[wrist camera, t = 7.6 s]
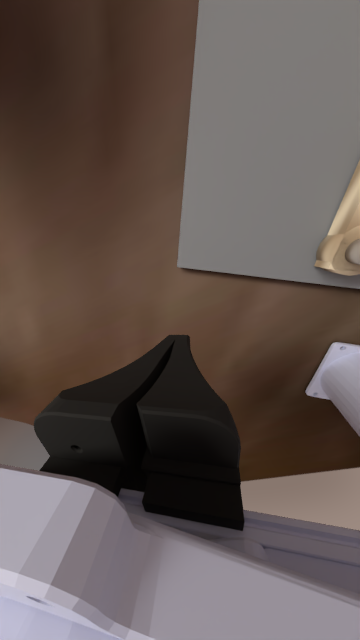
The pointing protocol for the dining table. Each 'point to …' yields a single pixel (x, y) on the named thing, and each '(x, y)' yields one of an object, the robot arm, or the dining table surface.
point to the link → (343, 234)
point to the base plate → (270, 136)
